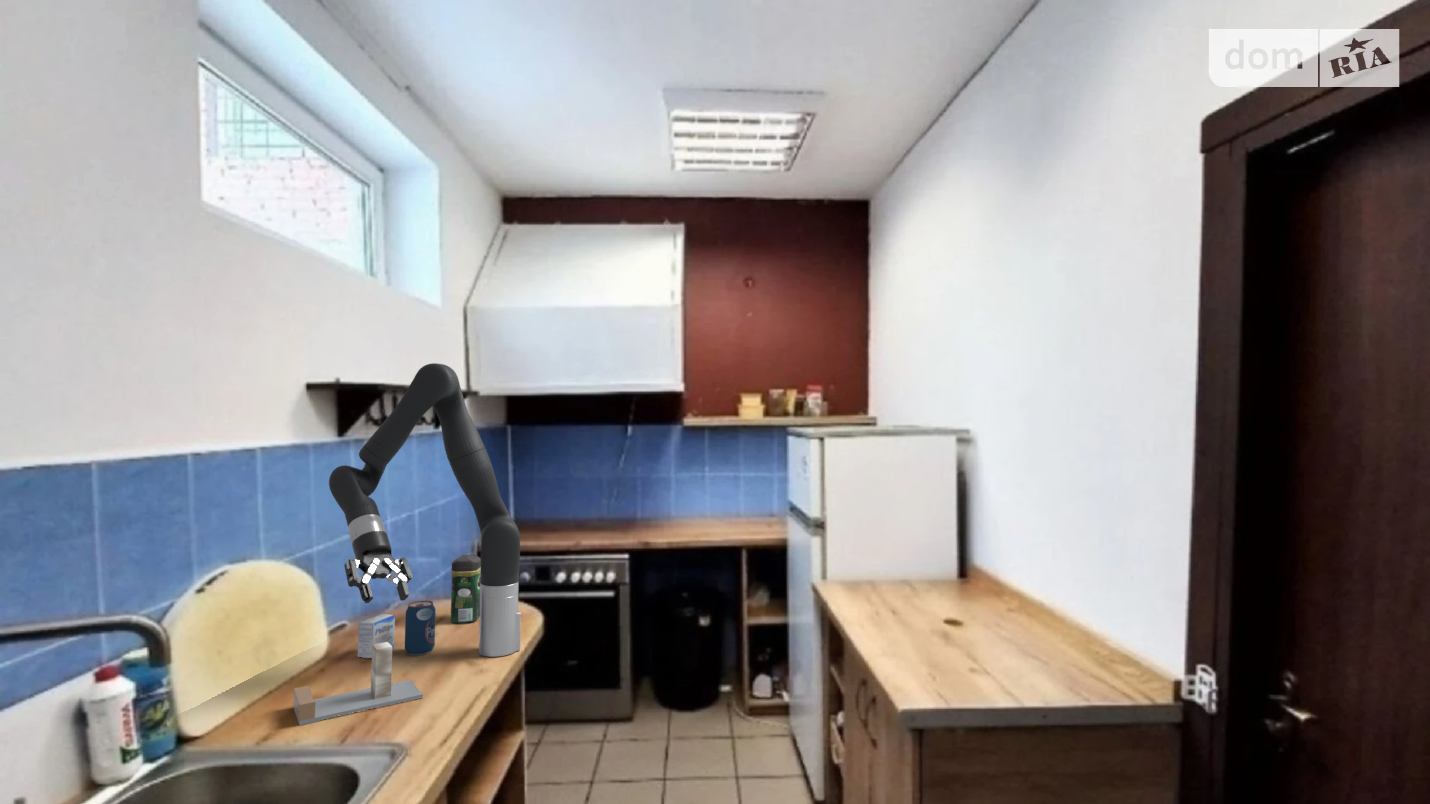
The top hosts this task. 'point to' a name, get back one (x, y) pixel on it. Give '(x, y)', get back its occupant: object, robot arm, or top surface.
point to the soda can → (420, 628)
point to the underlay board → (348, 701)
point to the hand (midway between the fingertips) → (387, 599)
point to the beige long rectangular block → (381, 670)
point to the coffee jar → (465, 589)
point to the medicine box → (375, 633)
